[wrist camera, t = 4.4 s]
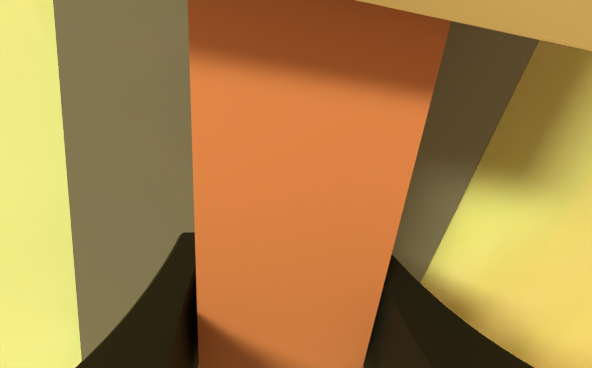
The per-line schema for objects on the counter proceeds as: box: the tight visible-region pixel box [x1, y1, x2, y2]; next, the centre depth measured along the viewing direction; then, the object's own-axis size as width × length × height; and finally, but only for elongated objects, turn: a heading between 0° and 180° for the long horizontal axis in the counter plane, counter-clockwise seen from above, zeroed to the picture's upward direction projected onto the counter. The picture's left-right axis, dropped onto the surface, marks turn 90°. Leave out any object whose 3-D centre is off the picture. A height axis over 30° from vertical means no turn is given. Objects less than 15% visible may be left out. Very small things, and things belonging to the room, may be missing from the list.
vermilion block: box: [188, 0, 451, 368], centre depth 10 cm, size 11×4×5 cm, turn 175°
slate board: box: [53, 0, 539, 368], centre depth 12 cm, size 31×13×1 cm, turn 168°
